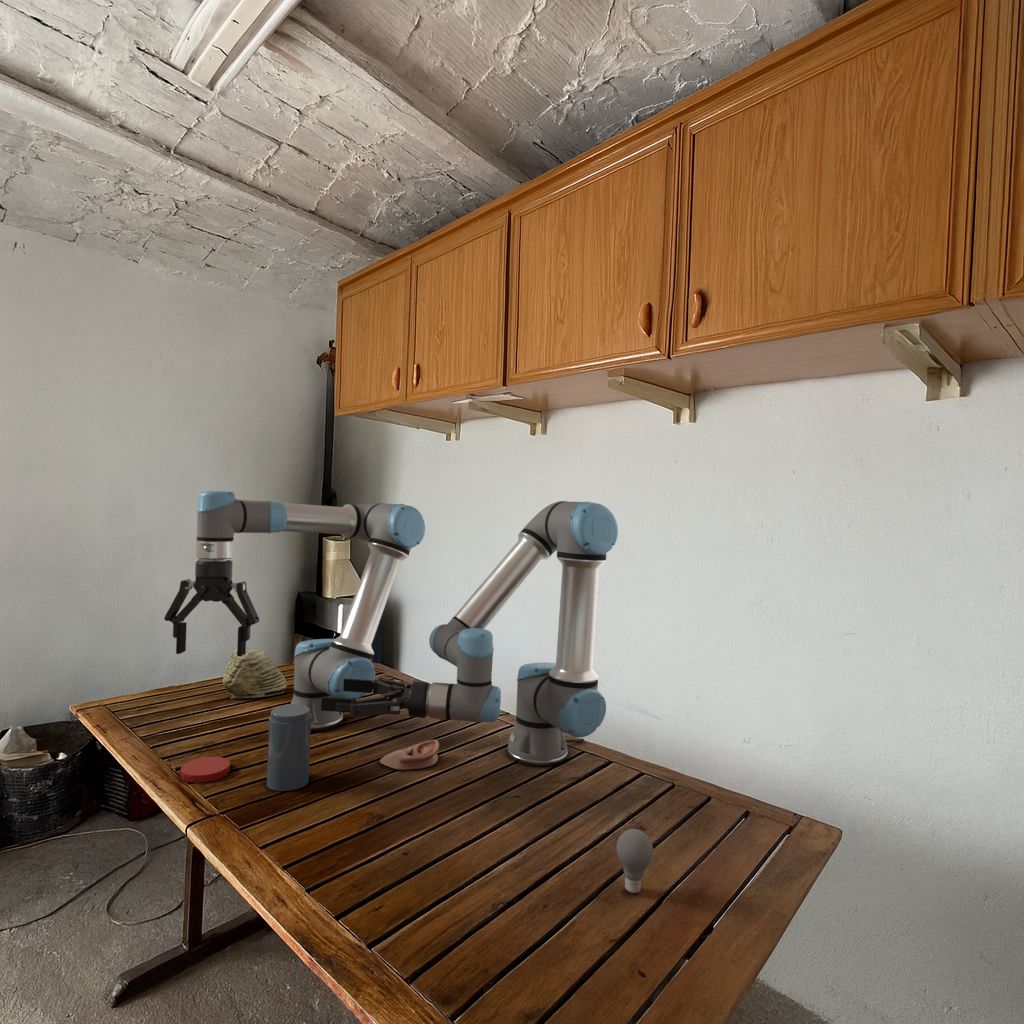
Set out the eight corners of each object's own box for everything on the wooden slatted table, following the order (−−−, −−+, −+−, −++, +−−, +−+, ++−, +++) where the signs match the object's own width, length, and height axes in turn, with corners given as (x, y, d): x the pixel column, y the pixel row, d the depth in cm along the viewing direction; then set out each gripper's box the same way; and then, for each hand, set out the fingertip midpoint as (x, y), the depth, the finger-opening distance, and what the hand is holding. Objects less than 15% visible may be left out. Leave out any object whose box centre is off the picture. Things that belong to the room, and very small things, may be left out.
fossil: (218, 695, 195) (220, 647, 195) (278, 685, 208) (279, 640, 207) (228, 703, 189) (230, 653, 188) (289, 692, 201) (290, 645, 201)
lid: (239, 771, 144) (239, 764, 144) (197, 787, 136) (197, 779, 136) (213, 759, 150) (213, 753, 150) (170, 774, 141) (171, 767, 141)
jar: (288, 794, 134) (291, 719, 134) (257, 785, 138) (260, 712, 137) (317, 778, 142) (320, 707, 142) (287, 770, 146) (289, 701, 145)
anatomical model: (374, 749, 149) (393, 732, 160) (374, 766, 149) (393, 748, 161) (428, 756, 147) (443, 739, 158) (427, 774, 147) (443, 754, 158)
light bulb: (610, 879, 108) (613, 822, 108) (644, 879, 109) (647, 822, 109) (619, 902, 102) (622, 840, 102) (655, 901, 103) (658, 840, 103)
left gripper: (149, 558, 138) (145, 655, 139) (263, 563, 138) (259, 660, 139) (167, 555, 146) (164, 647, 146) (276, 560, 146) (272, 652, 146)
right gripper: (415, 738, 125) (310, 731, 126) (439, 699, 150) (351, 693, 151) (417, 700, 125) (312, 693, 126) (440, 667, 150) (352, 662, 151)
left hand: (211, 653), depth 142 cm, fingers open, 13 cm apart
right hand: (333, 693), depth 139 cm, fingers open, 13 cm apart
